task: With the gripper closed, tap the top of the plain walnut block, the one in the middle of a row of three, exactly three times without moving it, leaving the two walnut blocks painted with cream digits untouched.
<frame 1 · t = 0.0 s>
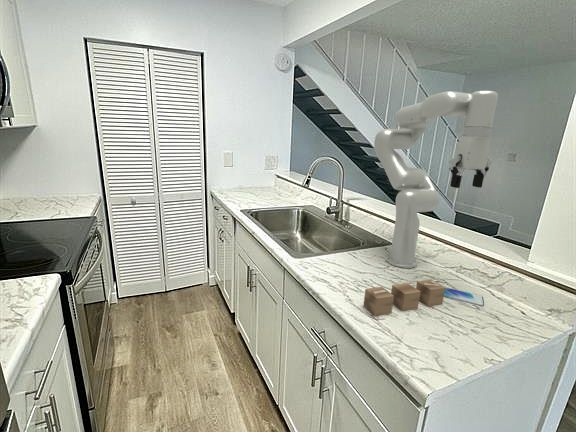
hand: (465, 187, 104), 37 cm above the worktop, tool pointing down, fingers open, 9 cm apart
block seven: (428, 300, 104), on the worktop
smartphone: (458, 297, 109), on the worktop
block one: (377, 309, 97), on the worktop
plain block: (403, 305, 101), on the worktop
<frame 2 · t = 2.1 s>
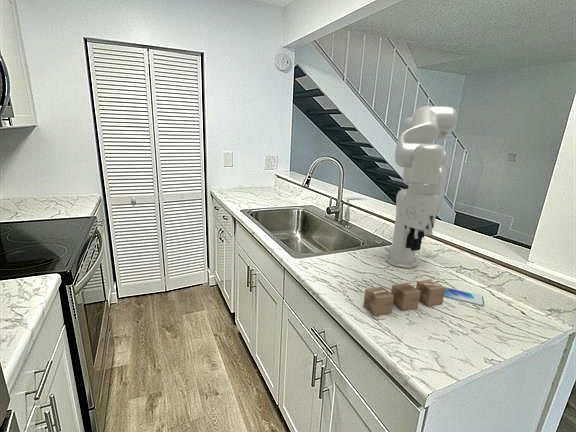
hand: (412, 248, 96), 19 cm above the worktop, tool pointing down, fingers closed
nothing on the worktop moved.
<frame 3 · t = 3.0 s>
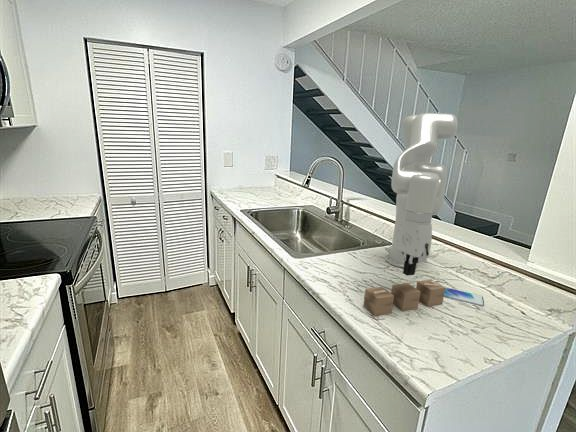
hand: (408, 274, 98), 11 cm above the worktop, tool pointing down, fingers closed
nothing on the worktop moved.
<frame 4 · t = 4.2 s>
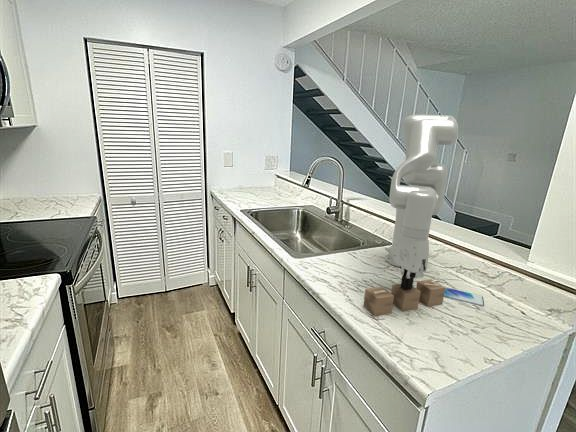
hand: (406, 288, 99), 6 cm above the worktop, tool pointing down, fingers closed
nothing on the worktop moved.
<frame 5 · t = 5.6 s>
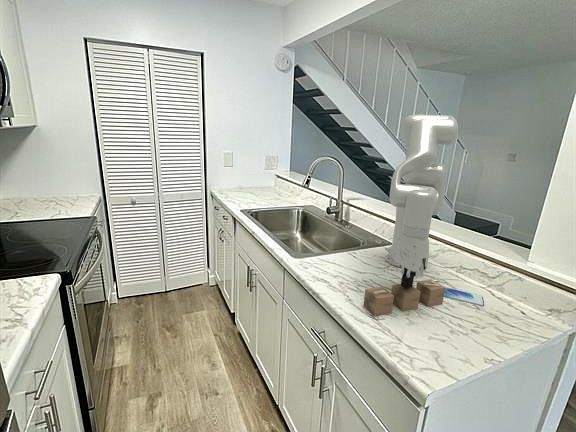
hand: (406, 286, 99), 6 cm above the worktop, tool pointing down, fingers closed
nothing on the worktop moved.
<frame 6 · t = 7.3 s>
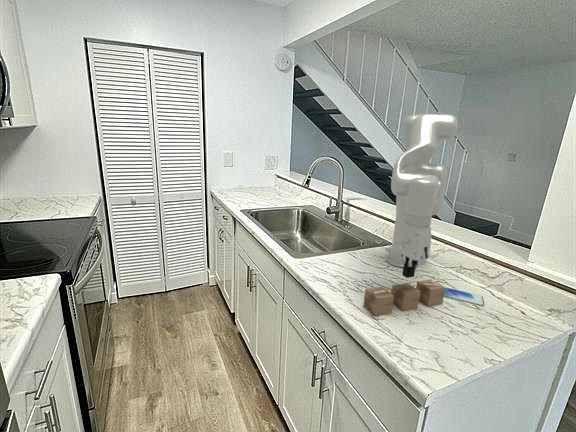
hand: (408, 276, 99), 10 cm above the worktop, tool pointing down, fingers closed
nothing on the worktop moved.
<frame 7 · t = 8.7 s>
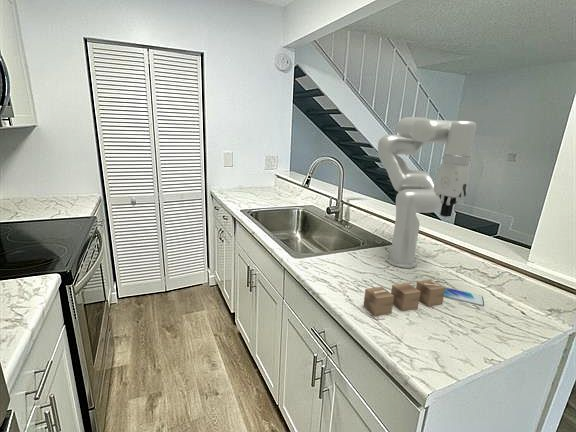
hand: (445, 215, 107), 27 cm above the worktop, tool pointing down, fingers closed
nothing on the worktop moved.
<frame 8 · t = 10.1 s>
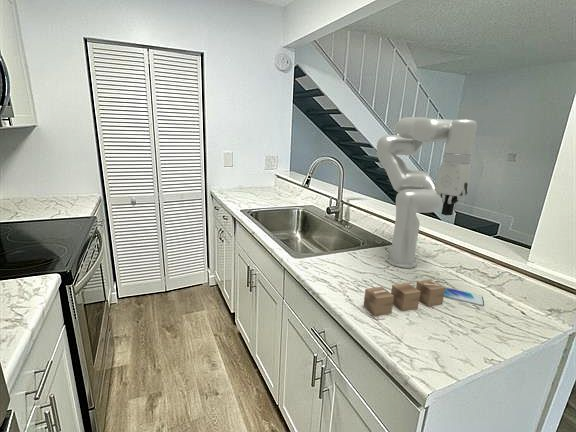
hand: (446, 214, 107), 27 cm above the worktop, tool pointing down, fingers closed
nothing on the worktop moved.
at the end: plain block moved 0.1 cm from its start; plain block tilted 0°; block seven moved 0.1 cm from its start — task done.
